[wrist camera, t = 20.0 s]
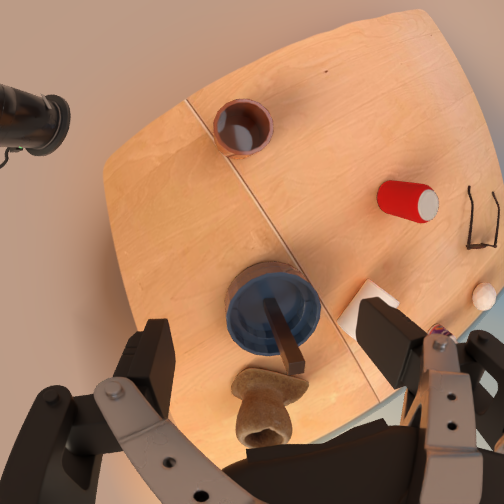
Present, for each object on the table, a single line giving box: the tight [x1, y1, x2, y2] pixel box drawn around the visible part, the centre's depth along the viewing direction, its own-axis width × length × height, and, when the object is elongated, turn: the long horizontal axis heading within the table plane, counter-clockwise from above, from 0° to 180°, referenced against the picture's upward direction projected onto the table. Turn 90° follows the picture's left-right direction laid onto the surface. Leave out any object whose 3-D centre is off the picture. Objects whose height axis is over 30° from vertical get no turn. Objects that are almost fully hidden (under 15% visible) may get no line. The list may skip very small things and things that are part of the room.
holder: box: [213, 99, 273, 159], centre depth 36 cm, size 7×7×9 cm
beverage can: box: [377, 180, 439, 223], centre depth 40 cm, size 6×6×12 cm
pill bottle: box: [428, 324, 458, 344], centre depth 53 cm, size 5×5×10 cm
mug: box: [337, 279, 400, 341], centre depth 48 cm, size 12×10×8 cm
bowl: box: [225, 261, 321, 356], centre depth 46 cm, size 15×15×6 cm
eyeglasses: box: [466, 186, 500, 250], centre depth 48 cm, size 15×15×5 cm
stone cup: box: [231, 368, 309, 448], centre depth 47 cm, size 15×12×15 cm
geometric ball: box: [472, 283, 496, 310], centre depth 54 cm, size 8×8×8 cm
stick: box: [264, 298, 305, 376], centre depth 39 cm, size 2×2×18 cm
